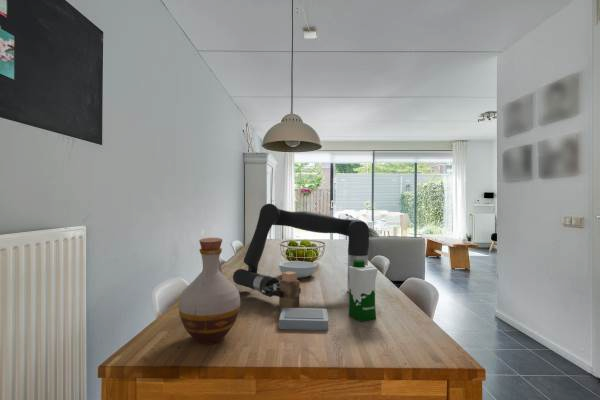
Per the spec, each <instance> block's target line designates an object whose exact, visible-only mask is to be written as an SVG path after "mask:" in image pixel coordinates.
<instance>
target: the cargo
mask: <svg viewBox="0 0 600 400" xmlns="http://www.w3.org/2000/svg"><path fill="white" fill-rule="evenodd" d="M281 274H282V277H281V278H282V279H281V280H283V281H286V282H293V281H297V280H298V278H297V273H295V272H291V271H289V272H283V273H282V272H281Z"/></svg>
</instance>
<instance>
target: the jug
mask: <svg viewBox="0 0 600 400" xmlns="http://www.w3.org/2000/svg"><path fill="white" fill-rule="evenodd" d="M222 242H223V239H222V238H220V237H205V238H200V239H199V245H200V248H199V253H200V255H201V259H202V260H201V261H202V271H201V272H200V273H199V274H198V275H197V276H196V277H195V278H194V280H192V281H191V282H190V283H189V284H188V285H187V286H186V287H185V288H184V289H183V291H182V292H181V294H180V297H179V300H178V312H179V317H180V320H181V323H182V325H183V328H184V329H185V331H186V332H187V333H188V334H189V336H190V337H191V338H192V339H193V341H195V342H196V343H198V344H200V345H213V344H214V345H215V344H217V343H219V342H221V341H222V340H224V338H225V337H226V336H227V334H228V333H229V332H230V330H231V329H232V327H233V326H234V325H235V323H236V320H237V318H238V315H239V312H240V306H241V295H240V292H239V290H238V288H237V287H236V286H235V285H234V284H233V283H232V282H231V281H230V280H229V279H228V278H227V277H226V276H225V275H223V272H222V271H223V269H222V263H221V261H220V255H221V253H222V252H223V251H222V250H223V248H222V247H221V246H222V244H223V243H222Z"/></svg>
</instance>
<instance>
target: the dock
mask: <svg viewBox="0 0 600 400" xmlns="http://www.w3.org/2000/svg"><path fill="white" fill-rule="evenodd" d="M278 329H279V330H303V331H304V330H305V331H307V330H309V331H329V316H328V310H327V308H313V307H312V308H310V307H308V308H306V307H299V308H282V310H280V314H279V318H278Z"/></svg>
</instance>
